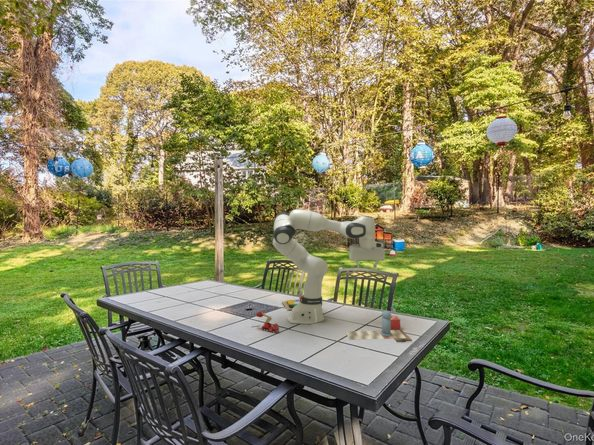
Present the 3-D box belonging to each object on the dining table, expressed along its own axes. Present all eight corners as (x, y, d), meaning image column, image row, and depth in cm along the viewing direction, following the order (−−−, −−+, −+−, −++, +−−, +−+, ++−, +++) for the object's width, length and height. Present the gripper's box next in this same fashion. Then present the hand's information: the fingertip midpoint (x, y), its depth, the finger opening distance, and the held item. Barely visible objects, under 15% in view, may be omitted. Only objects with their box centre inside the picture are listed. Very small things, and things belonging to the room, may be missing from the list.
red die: (389, 330, 187) (389, 319, 186) (386, 326, 193) (386, 316, 192) (400, 330, 187) (400, 319, 187) (396, 326, 193) (396, 315, 193)
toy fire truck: (276, 333, 182) (276, 316, 182) (256, 329, 189) (256, 312, 189) (279, 331, 185) (279, 314, 185) (260, 327, 192) (259, 310, 192)
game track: (346, 343, 169) (346, 341, 169) (340, 333, 183) (340, 330, 183) (411, 341, 171) (411, 339, 171) (401, 331, 185) (401, 329, 185)
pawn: (382, 336, 174) (382, 312, 174) (379, 332, 180) (379, 309, 180) (393, 336, 175) (393, 312, 174) (389, 332, 180) (390, 309, 180)
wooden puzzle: (287, 311, 222) (287, 306, 222) (281, 303, 240) (281, 299, 240) (312, 309, 227) (312, 304, 227) (304, 302, 245) (304, 297, 245)
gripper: (350, 244, 188) (350, 269, 189) (386, 244, 189) (385, 268, 190) (348, 243, 194) (347, 267, 195) (382, 243, 196) (382, 266, 196)
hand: (366, 267), depth 192 cm, fingers open, 8 cm apart
